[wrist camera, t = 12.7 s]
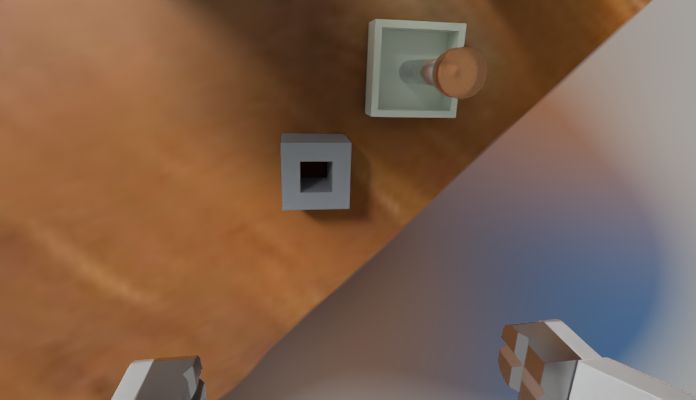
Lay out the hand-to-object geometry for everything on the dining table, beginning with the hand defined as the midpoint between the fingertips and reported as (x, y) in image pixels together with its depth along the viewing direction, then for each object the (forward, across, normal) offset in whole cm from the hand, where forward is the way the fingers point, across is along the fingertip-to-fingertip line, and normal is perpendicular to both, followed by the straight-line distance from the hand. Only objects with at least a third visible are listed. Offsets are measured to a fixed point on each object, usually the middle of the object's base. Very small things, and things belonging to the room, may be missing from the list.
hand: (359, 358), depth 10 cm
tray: (+29, -10, -7) cm, 31 cm away
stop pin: (+28, -10, -7) cm, 31 cm away
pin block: (+29, 0, +2) cm, 29 cm away
